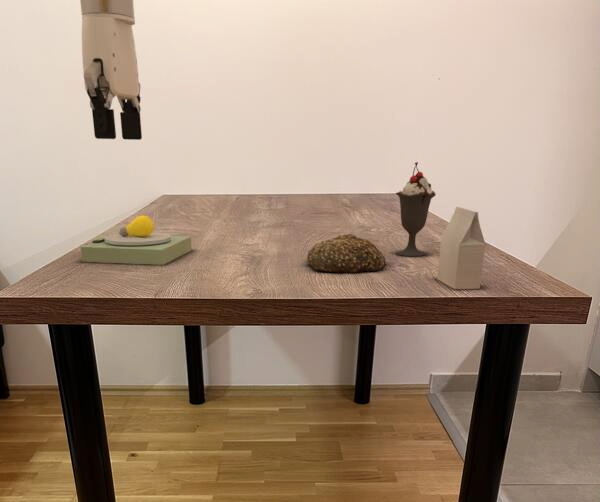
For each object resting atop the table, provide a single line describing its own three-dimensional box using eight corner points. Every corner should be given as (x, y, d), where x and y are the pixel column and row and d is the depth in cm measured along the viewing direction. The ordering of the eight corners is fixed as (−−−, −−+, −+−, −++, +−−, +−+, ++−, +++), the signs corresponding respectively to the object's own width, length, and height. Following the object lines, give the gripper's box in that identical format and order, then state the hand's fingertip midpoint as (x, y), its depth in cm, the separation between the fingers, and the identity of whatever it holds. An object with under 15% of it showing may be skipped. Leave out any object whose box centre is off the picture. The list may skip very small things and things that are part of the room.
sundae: (401, 258, 108) (408, 162, 102) (386, 251, 114) (392, 160, 108) (436, 256, 110) (445, 162, 103) (419, 250, 116) (427, 160, 109)
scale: (82, 261, 104) (79, 241, 103) (118, 247, 117) (116, 229, 115) (163, 265, 102) (161, 244, 101) (191, 250, 114) (190, 231, 113)
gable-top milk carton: (454, 289, 87) (462, 212, 83) (437, 279, 93) (444, 207, 89) (479, 288, 88) (489, 212, 83) (460, 278, 94) (469, 206, 89)
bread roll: (305, 273, 97) (306, 239, 94) (307, 258, 108) (307, 227, 106) (390, 274, 96) (392, 240, 94) (383, 259, 107) (385, 228, 105)
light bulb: (156, 237, 107) (147, 217, 104) (123, 247, 107) (113, 228, 105) (158, 228, 109) (149, 209, 107) (125, 238, 110) (116, 219, 108)
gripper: (109, 21, 102) (120, 139, 109) (53, -2, 86) (70, 138, 93) (154, 21, 101) (162, 140, 108) (105, -2, 85) (118, 139, 92)
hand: (119, 139), depth 100 cm, fingers open, 9 cm apart
